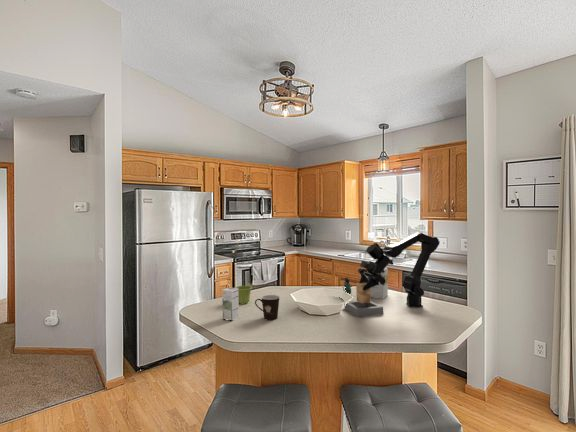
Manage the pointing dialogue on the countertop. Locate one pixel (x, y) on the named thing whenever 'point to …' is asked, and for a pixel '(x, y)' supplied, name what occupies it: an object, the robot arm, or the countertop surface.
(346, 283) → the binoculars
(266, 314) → the coffee mug
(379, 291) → the supplement box
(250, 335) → the countertop surface
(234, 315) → the syrup box
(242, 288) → the plant pot
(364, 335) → the countertop surface
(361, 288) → the oak block
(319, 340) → the countertop surface
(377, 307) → the collar
